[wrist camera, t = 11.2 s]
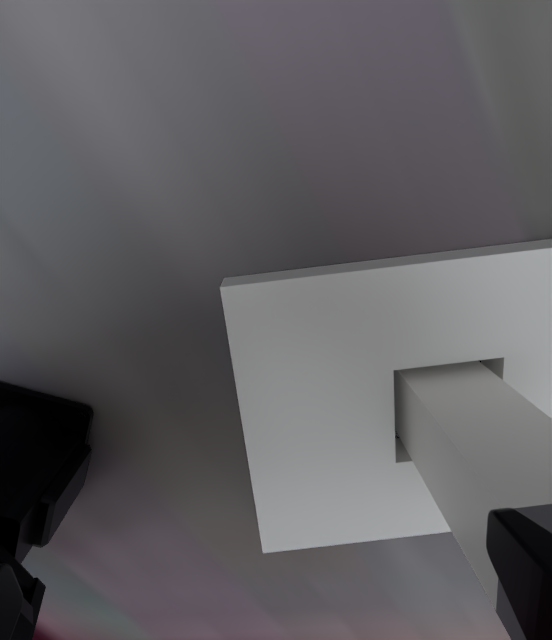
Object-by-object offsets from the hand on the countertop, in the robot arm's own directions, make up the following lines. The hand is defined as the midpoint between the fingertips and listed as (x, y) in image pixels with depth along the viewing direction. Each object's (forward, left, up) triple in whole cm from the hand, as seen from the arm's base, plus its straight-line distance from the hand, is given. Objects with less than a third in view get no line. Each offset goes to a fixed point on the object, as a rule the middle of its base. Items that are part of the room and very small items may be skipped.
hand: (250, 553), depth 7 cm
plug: (+10, -1, -13) cm, 16 cm away
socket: (+9, -1, -13) cm, 16 cm away
